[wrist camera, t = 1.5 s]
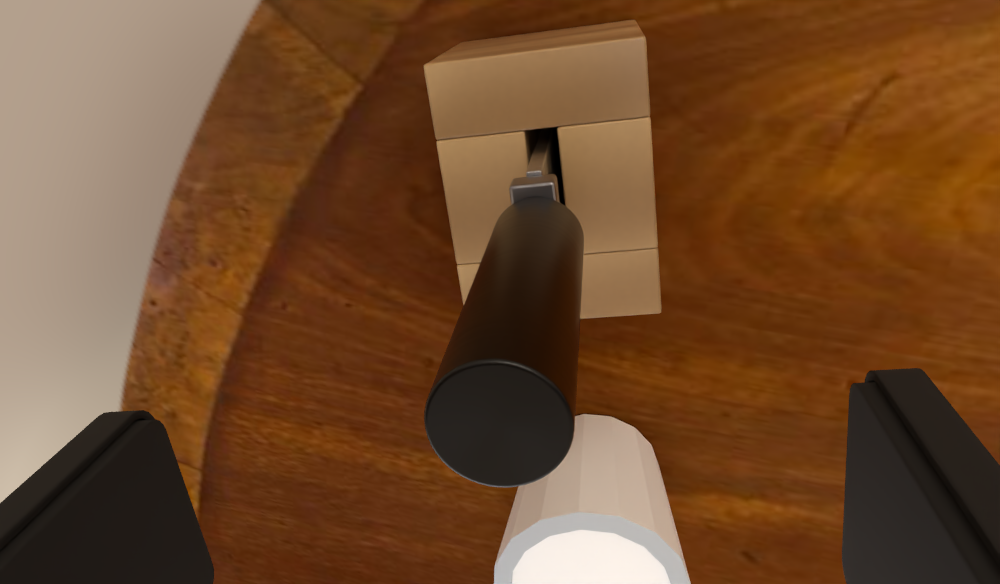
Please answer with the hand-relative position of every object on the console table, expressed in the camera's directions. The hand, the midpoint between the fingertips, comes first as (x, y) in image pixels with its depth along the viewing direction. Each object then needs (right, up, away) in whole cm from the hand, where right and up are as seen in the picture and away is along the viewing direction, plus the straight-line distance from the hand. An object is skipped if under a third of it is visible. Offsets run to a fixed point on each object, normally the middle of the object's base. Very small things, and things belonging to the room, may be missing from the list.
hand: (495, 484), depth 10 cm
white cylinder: (+4, -5, +22) cm, 23 cm away
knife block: (+2, +8, +17) cm, 19 cm away
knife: (+2, +8, +17) cm, 19 cm away
